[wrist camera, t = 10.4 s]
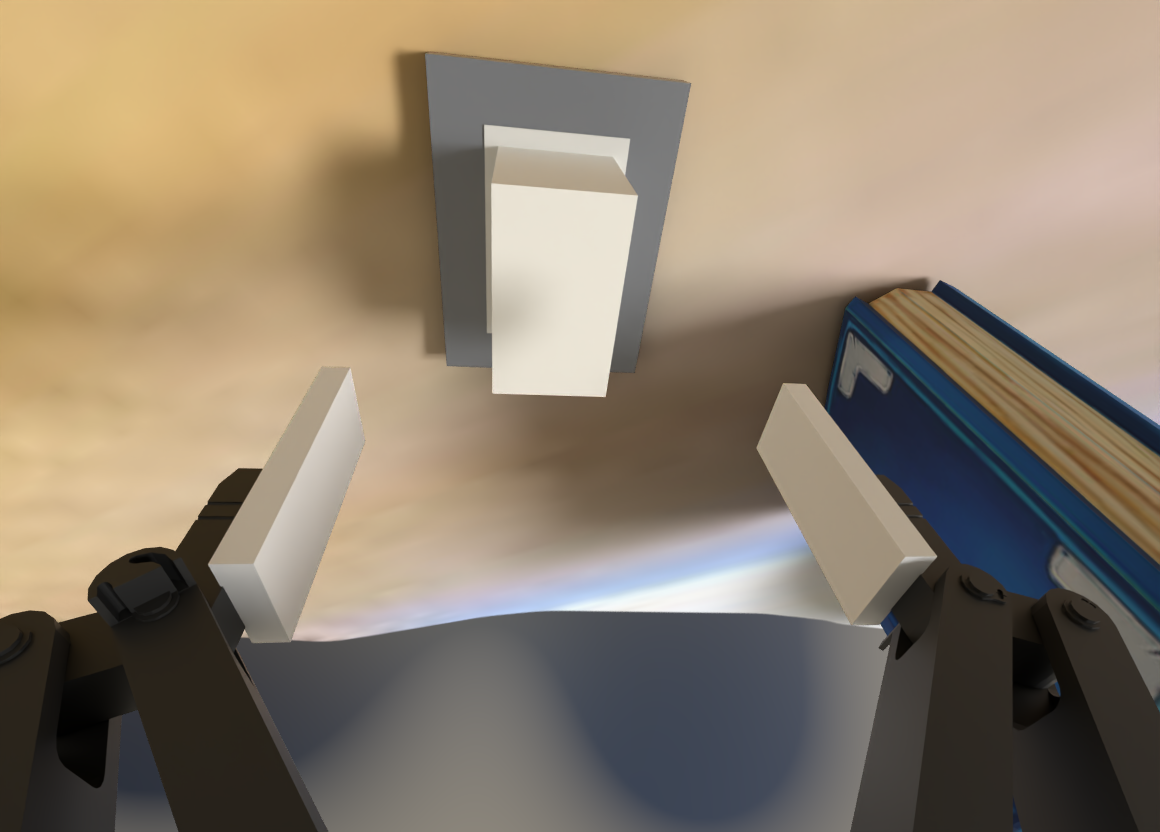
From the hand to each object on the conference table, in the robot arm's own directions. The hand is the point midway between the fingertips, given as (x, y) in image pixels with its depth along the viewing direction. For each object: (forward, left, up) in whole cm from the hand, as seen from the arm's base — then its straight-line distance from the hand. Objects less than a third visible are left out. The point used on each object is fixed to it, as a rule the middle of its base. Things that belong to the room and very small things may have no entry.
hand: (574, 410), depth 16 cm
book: (+12, +25, -17) cm, 32 cm away
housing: (0, 0, -15) cm, 15 cm away
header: (0, 0, -17) cm, 17 cm away
